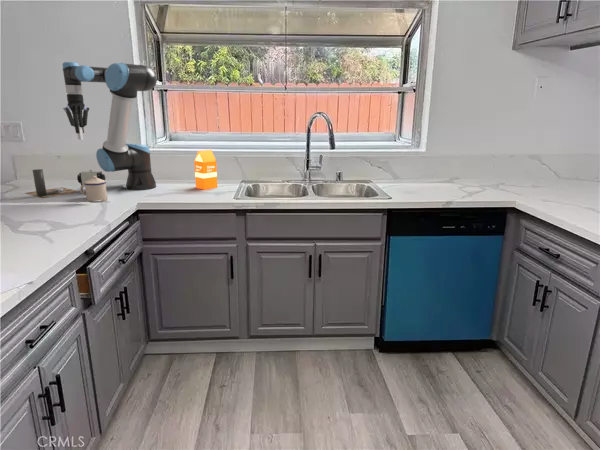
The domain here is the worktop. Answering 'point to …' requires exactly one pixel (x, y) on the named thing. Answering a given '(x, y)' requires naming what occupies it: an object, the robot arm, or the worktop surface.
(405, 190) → the worktop surface
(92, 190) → the teacup with lid
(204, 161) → the orange juice
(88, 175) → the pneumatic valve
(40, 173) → the peg lever
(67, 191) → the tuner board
